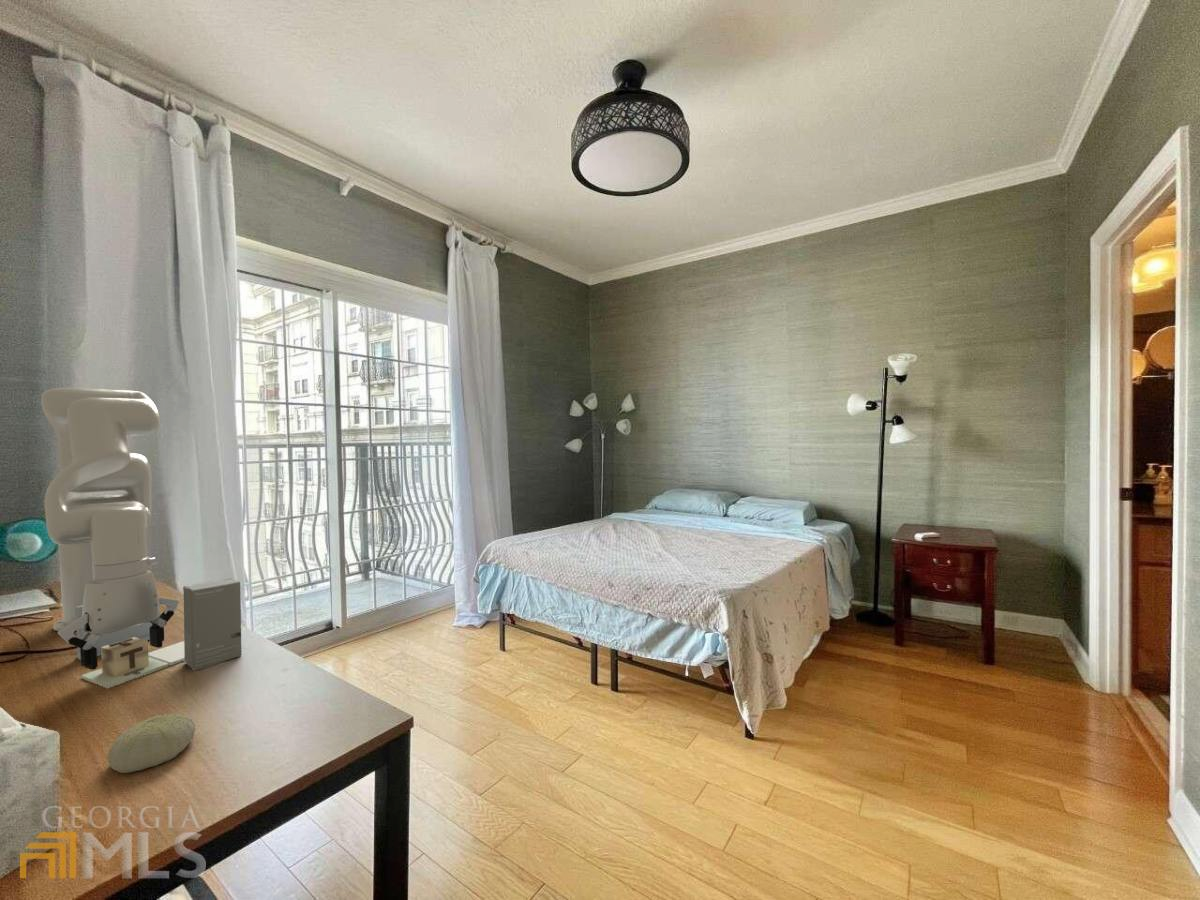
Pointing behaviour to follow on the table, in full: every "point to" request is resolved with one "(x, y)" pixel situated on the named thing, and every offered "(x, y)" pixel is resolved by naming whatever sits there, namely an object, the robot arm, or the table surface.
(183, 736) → the sea urchin shell
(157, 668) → the pad
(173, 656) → the pad
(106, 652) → the letter cube
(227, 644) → the skincare box
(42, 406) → the robot arm
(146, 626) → the screen
